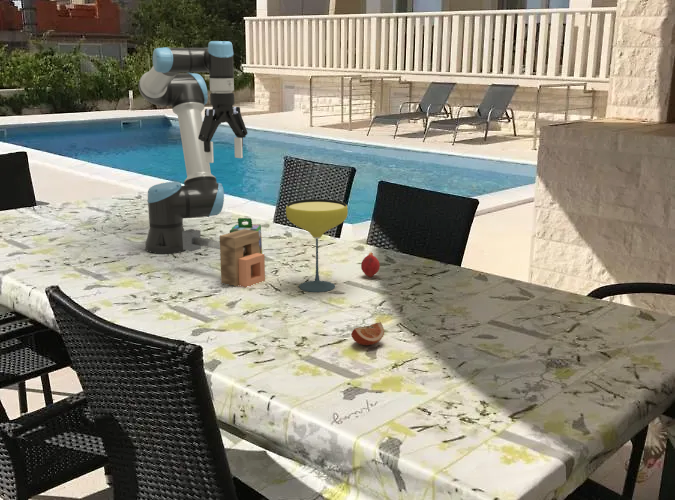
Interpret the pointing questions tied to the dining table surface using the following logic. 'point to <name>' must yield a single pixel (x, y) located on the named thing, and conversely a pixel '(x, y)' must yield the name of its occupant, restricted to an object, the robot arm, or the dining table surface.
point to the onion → (370, 265)
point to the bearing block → (236, 253)
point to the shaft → (199, 241)
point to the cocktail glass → (316, 228)
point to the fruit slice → (368, 334)
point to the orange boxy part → (245, 269)
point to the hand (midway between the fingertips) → (224, 160)
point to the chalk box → (249, 227)
